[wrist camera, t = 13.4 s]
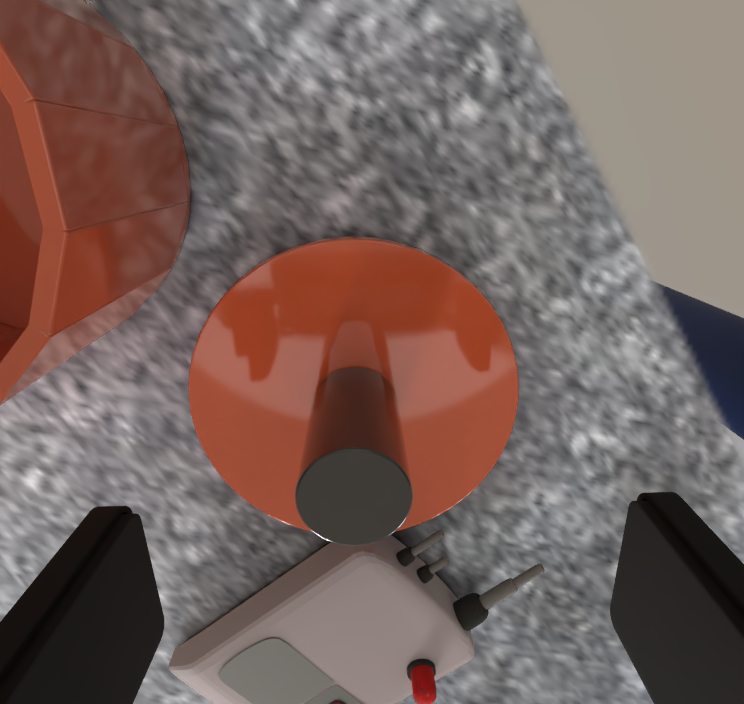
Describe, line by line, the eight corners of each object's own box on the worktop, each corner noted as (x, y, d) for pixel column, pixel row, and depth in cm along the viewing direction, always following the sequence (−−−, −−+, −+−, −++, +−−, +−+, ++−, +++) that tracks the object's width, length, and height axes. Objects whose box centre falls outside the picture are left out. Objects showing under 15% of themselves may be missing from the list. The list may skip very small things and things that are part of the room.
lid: (521, 227, 14) (613, 265, 9) (499, 510, 18) (556, 653, 13) (174, 239, 14) (67, 284, 9) (222, 521, 18) (165, 670, 13)
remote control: (143, 668, 20) (109, 749, 18) (451, 455, 17) (469, 512, 14) (257, 747, 22) (243, 831, 20) (553, 568, 19) (587, 638, 16)
